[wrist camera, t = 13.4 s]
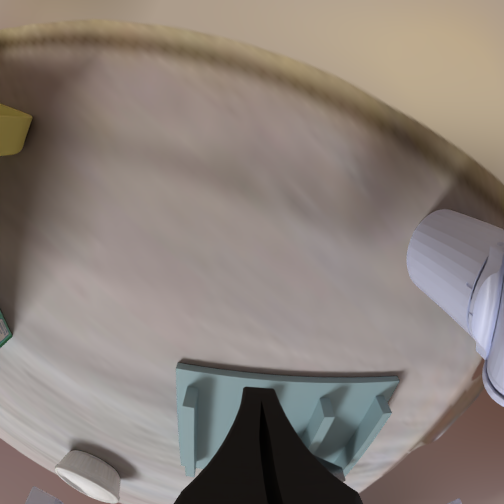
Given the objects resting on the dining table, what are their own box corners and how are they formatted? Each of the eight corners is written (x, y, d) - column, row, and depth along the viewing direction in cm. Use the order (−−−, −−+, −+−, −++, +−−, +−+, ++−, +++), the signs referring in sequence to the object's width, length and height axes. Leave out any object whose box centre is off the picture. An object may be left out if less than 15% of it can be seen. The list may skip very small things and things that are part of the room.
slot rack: (396, 376, 24) (409, 397, 21) (339, 467, 29) (343, 485, 26) (177, 362, 23) (169, 387, 20) (181, 460, 29) (178, 480, 25)
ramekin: (56, 448, 31) (45, 468, 26) (82, 441, 29) (70, 466, 24) (104, 482, 34) (97, 503, 29) (138, 479, 32) (131, 504, 27)
